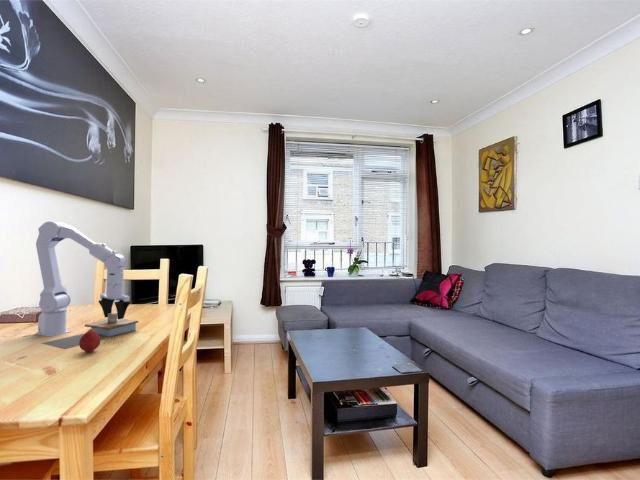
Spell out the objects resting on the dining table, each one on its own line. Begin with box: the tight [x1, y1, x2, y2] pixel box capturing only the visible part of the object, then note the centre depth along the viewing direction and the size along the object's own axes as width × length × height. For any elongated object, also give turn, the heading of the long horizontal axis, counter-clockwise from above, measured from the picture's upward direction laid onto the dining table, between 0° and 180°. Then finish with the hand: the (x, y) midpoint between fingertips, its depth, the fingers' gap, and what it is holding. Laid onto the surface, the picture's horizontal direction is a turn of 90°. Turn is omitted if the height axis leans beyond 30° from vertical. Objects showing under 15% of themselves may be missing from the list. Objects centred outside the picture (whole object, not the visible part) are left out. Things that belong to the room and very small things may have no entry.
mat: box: [40, 333, 106, 350], centre depth 122 cm, size 14×14×1 cm
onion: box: [79, 327, 102, 353], centre depth 111 cm, size 6×6×8 cm
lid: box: [84, 312, 139, 330], centre depth 134 cm, size 13×13×4 cm
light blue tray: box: [90, 323, 137, 338], centre depth 135 cm, size 11×11×4 cm
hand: (114, 317), depth 135 cm, fingers open, 7 cm apart
